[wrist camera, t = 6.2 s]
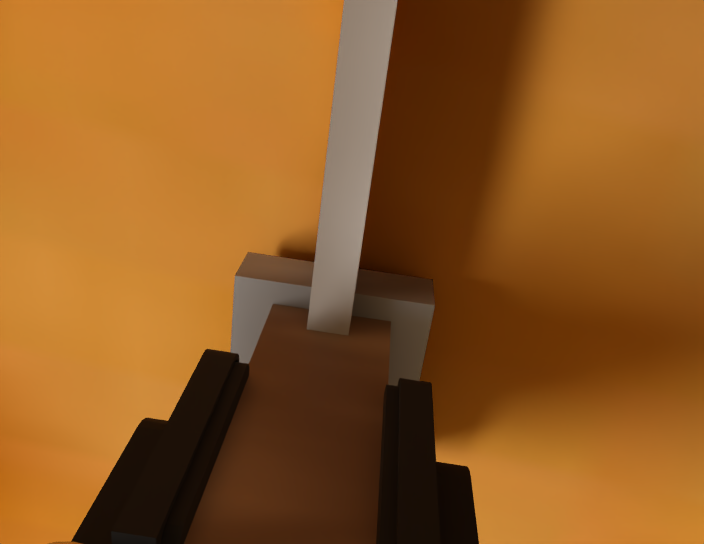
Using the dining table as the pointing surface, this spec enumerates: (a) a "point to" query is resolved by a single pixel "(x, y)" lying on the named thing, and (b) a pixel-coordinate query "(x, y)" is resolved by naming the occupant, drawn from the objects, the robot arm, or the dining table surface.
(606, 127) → the dining table surface
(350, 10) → the scraper
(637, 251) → the dining table surface
